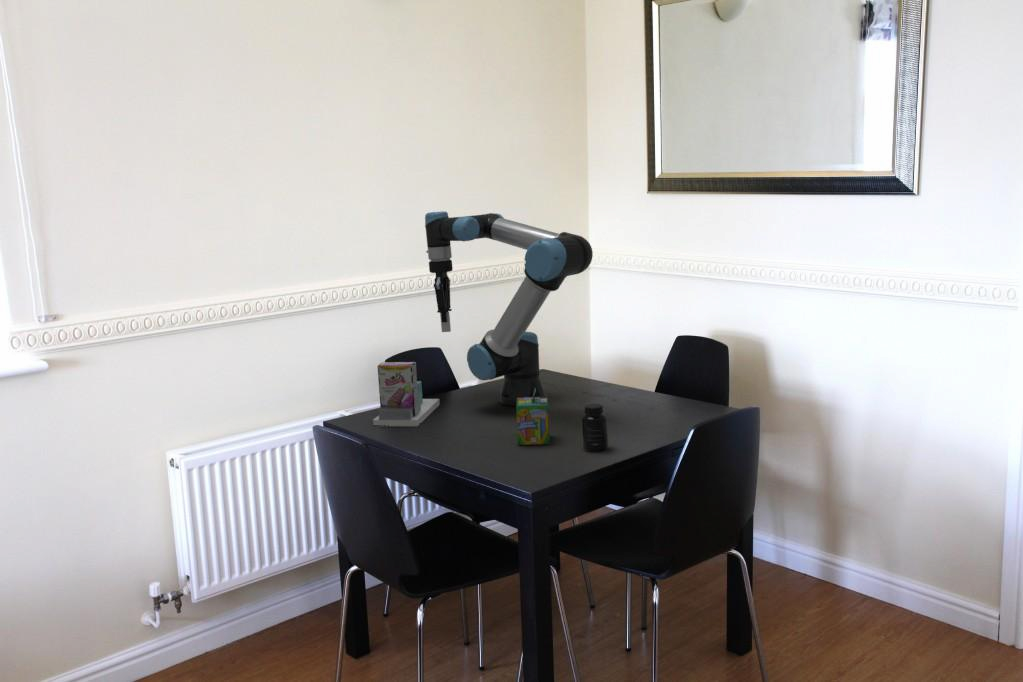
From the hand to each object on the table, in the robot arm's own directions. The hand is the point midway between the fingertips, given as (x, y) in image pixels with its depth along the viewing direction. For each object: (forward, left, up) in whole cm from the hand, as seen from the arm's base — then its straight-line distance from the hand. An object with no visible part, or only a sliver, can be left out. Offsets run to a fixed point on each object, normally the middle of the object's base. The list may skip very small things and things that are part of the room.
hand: (446, 331), depth 305 cm
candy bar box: (+10, +24, -22) cm, 34 cm away
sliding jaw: (+10, +16, -21) cm, 28 cm away
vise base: (+10, +17, -24) cm, 31 cm away
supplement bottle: (-53, +50, -24) cm, 77 cm away
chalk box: (-35, +43, -24) cm, 61 cm away
